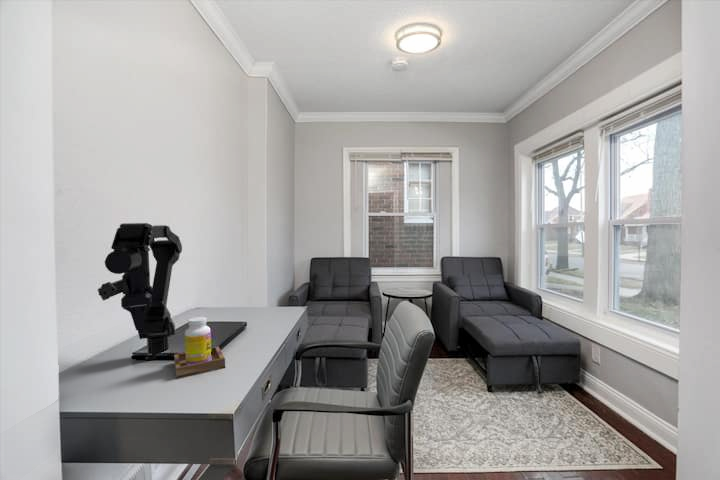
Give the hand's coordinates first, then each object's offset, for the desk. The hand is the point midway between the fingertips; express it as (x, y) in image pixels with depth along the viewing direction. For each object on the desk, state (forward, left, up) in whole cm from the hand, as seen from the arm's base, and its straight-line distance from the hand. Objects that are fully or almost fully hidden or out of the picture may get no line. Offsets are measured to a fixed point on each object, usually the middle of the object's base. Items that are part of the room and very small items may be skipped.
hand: (139, 325), depth 90 cm
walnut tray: (+4, +14, -13) cm, 20 cm away
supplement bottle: (+4, +14, -13) cm, 19 cm away
